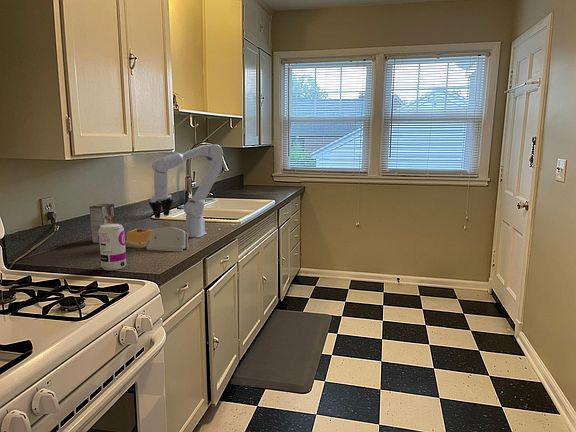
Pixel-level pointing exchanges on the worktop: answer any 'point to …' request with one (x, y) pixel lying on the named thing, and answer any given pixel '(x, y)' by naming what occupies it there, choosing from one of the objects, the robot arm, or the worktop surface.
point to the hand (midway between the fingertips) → (161, 216)
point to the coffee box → (101, 218)
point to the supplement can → (112, 246)
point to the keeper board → (136, 244)
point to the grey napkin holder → (168, 239)
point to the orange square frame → (139, 235)
